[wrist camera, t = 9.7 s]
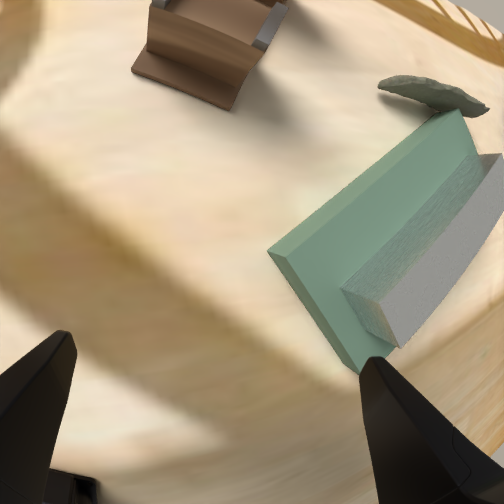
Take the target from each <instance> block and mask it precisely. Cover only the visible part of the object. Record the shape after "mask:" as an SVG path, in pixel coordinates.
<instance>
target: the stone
mask: <svg viewBox="0 0 504 504" xmlns="http://www.w3.org/2000/svg"><path fill="white" fill-rule="evenodd" d="M378 89H381V90H385V91H389V92H390V93H396V94H399V95H401V96H403V97H408V98H411V99H414V100H417V101H419V102H421V103H425V104H426V105H428V106H429V107H432V108H435V109H436V110H439V111H441V112H444V111H448V110H453V109H457V108H459V109H460V112H461V114H462V116H464V117H469V118H475V117H478V116H480V115H483V114H485V113H486V112H488V111H489V109H490V108H487V107H485V104H483V103H482V102H480V101H478V100H477V99H475V98H473V97H471V96H470V95H468V94H467V93H465V92H464V91H463V90H462V89H460V88H458V87H454V86H451V85H446V84H442V83H439V82H437V81H436V80H432V79H429V78H426V77H416V76H409V75H398V76H393V77H390V78H388V79H385V80H382V81H381V82H380V83H379V85H378Z"/></svg>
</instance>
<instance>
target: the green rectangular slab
mask: <svg viewBox="0 0 504 504" xmlns="http://www.w3.org/2000/svg"><path fill="white" fill-rule="evenodd" d="M470 155H478V153H477V151H476V148H475V145H474V143H473V140H472V138H471V135H470V133H469V130H468V128H467V125H466V123H465V121H464V118H463V116H462V114H461V112H460V109H459V108H457V109H453V110H448V111H444V112H439V113H436V114H435V115H433V116H432V117H431V118H430V119H429V120H427V121H426V122H425V123H424V124H423V125H421V126H420V127H419V128H418V129H416V130H415V131H414V132H413V133H412V134H410V135H409V136H408V137H407V138H405V139H404V140H403V141H402V142H401V143H399V144H398V145H397V146H396V147H394V148H393V149H392V150H391V151H390V152H388V153H387V154H386V155H385V156H383V157H382V158H381V159H380V160H379V161H377V162H376V163H375V164H374V165H372V166H371V167H370V168H369V169H367V170H366V171H365V172H364V173H363V174H361V175H360V176H359V177H358V178H356V179H355V180H354V181H353V182H351V183H350V184H349V185H348V186H347V187H345V188H344V189H343V190H342V191H340V192H339V193H338V194H337V195H335V196H334V197H333V198H332V199H330V200H329V201H328V202H327V203H326V204H324V205H323V206H322V207H321V208H319V209H318V210H317V211H316V212H314V213H313V214H312V215H311V216H309V217H308V218H307V219H306V220H304V221H303V222H302V223H301V224H299V225H298V226H297V227H296V228H294V229H293V230H292V231H291V232H290V233H288V234H287V235H286V236H285V237H283V238H282V239H281V240H280V241H278V242H277V243H276V244H275V245H273V246H272V247H271V248H270V249H268V250H267V252H268V253H269V255H270V256H271V258H272V259H273V260H274V262H275V263H276V265H277V266H278V268H279V269H280V271H281V272H282V274H283V275H284V277H285V278H286V279H287V281H288V282H289V284H290V285H291V287H292V288H293V290H294V291H295V293H296V294H297V296H298V297H299V298H300V300H301V301H302V303H303V304H304V306H305V307H306V309H307V310H308V312H309V313H310V315H311V316H312V318H313V319H314V321H315V322H316V324H317V325H318V327H319V328H320V329H321V331H322V332H323V334H324V335H325V337H326V338H327V340H328V341H329V343H330V344H331V346H332V347H333V349H334V350H335V352H336V353H337V355H338V356H339V358H340V359H341V361H342V362H343V364H345V365H346V366H347V367H349V368H350V369H351V370H353V371H354V372H355V373H357V374H358V375H360V372H361V370H362V368H363V366H364V365H365V363H366V361H367V359H368V358H369V357H371V356H382V357H383V358H384V359H385V358H386V357H387V356H388V355H389V354H390V353H391V352H392V351H393V350H394V348H395V347H396V346H395V345H393V344H391V343H389V342H387V341H385V340H383V339H381V338H380V337H378V336H376V335H374V334H372V333H370V332H368V331H367V330H365V329H363V327H362V326H361V324H360V322H359V320H358V318H357V317H356V315H355V313H354V311H353V310H352V308H351V306H350V304H349V303H348V301H347V299H346V298H345V296H344V294H343V292H342V291H341V289H340V287H341V286H342V285H343V284H344V283H345V282H346V281H347V280H348V279H349V278H350V277H351V276H352V275H353V274H355V273H356V272H357V271H358V270H359V269H360V268H361V267H362V266H363V265H364V264H365V263H366V262H367V261H368V260H369V259H370V258H371V257H372V256H373V255H374V254H375V253H376V252H377V251H378V250H379V249H381V248H382V247H383V246H384V245H385V244H386V243H387V242H388V241H389V240H390V239H391V238H392V237H393V236H394V235H395V234H396V233H397V232H398V230H399V229H400V228H401V227H402V226H403V225H404V224H405V223H406V222H407V221H408V220H409V219H410V218H411V217H412V216H413V215H414V214H415V213H416V212H417V211H418V210H419V209H420V208H421V207H422V206H423V204H424V203H425V202H426V201H427V200H428V199H429V198H430V197H431V196H432V195H433V194H434V193H435V191H436V190H437V189H438V188H439V187H440V186H441V185H442V184H443V183H444V182H445V180H446V179H447V178H448V177H449V176H450V175H451V174H452V173H453V171H454V170H455V169H456V168H457V167H458V166H459V164H460V163H461V162H462V161H463V160H464V159H465V157H466V156H470Z"/></svg>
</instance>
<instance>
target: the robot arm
mask: <svg viewBox="0 0 504 504" xmlns="http://www.w3.org/2000/svg"><path fill="white" fill-rule="evenodd" d="M76 359H77V349H76V346H75V343H74V340H73V337H72V334H71V333H70V332H68V331H63V330H57V331H56V332H54V333H53V334H52V335H50V336H49V337H48V338H47V339H45V340H44V341H43V342H41V343H40V344H39V345H37V346H36V347H35V348H34V349H32V350H31V351H30V352H28V353H27V354H26V355H25V356H23V357H22V358H21V359H20V360H18V361H17V362H16V363H14V364H13V365H12V366H11V367H9V368H8V369H7V370H6V371H4V372H3V373H2V374H1V375H0V504H98V503H97V492H96V481H95V480H94V479H92V478H89V477H84V476H79V475H74V474H70V473H65V472H61V471H57V470H53V469H49V467H50V463H51V459H52V455H53V451H54V447H55V443H56V439H57V435H58V432H59V428H60V425H61V421H62V418H63V414H64V411H65V408H66V404H67V401H68V397H69V392H70V387H71V382H72V377H73V373H74V368H75V364H76ZM359 383H360V392H361V402H362V411H363V420H364V426H365V431H366V435H367V440H368V445H369V450H370V455H371V461H372V466H373V471H374V477H375V482H376V488H377V494H378V500H379V504H504V468H502V467H501V466H500V465H499V464H497V463H496V462H495V461H494V460H492V459H491V458H490V457H489V456H487V455H486V454H485V453H484V452H482V451H481V450H480V449H479V448H478V447H476V446H475V445H474V444H473V443H472V442H470V441H469V440H468V439H467V438H466V437H465V436H464V435H463V434H462V433H461V432H460V431H459V430H458V429H457V428H456V427H455V426H453V424H452V423H451V422H450V421H449V420H448V419H446V418H445V417H444V416H443V415H442V414H441V413H440V412H439V411H438V410H437V409H436V408H435V407H434V406H433V405H432V404H431V403H430V402H429V401H428V400H427V399H426V398H425V397H424V396H423V395H422V394H421V393H420V392H419V391H418V390H417V389H416V388H415V387H414V386H413V385H411V384H410V383H409V382H408V381H407V380H406V379H405V378H404V377H403V376H402V375H401V374H400V373H399V372H398V371H397V370H396V369H395V368H394V367H393V366H392V365H391V364H390V363H389V362H388V361H387V360H385V359H384V358H383V357H382V356H371V357H369V358H368V359H367V361H366V363H365V365H364V366H363V368H362V370H361V372H360V375H359ZM89 482H90V483H89Z"/></svg>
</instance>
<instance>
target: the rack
mask: <svg viewBox="0 0 504 504" xmlns="http://www.w3.org/2000/svg"><path fill="white" fill-rule="evenodd" d="M286 1H287V0H152V3H151V4H150V6H149V18H148V31H147V43H146V45H145V46H144V48H143V50H142V51H141V53H140V54H139V56H138V58H137V59H136V61H135V62H134V64H133V66H132V67H131V72H133V73H136V74H139V75H142V76H145V77H147V78H150V79H153V80H155V81H158V82H161V83H163V84H166V85H168V86H171V87H173V88H176V89H178V90H181V91H183V92H186V93H188V94H191V95H193V96H195V97H198V98H200V99H202V100H205V101H207V102H209V103H211V104H214V105H216V106H218V107H220V108H223V109H225V110H227V111H229V110H230V109H231V107H232V105H233V103H234V101H235V98H236V96H237V94H238V92H239V90H240V88H241V86H242V84H243V82H244V80H245V78H246V76H247V74H248V72H249V71H250V70H251V68H252V67H253V66H254V65H255V64H256V63H257V61H258V60H259V59H260V58H261V57H262V56H263V54H264V53H265V52H266V50H267V48H268V46H269V44H270V42H271V40H272V39H273V37H274V35H275V33H276V31H277V29H278V27H279V25H280V23H281V21H282V20H283V18H284V16H285V14H286V12H287V10H288V9H289V8H288V7H286V6H284V4H285V2H286Z"/></svg>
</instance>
